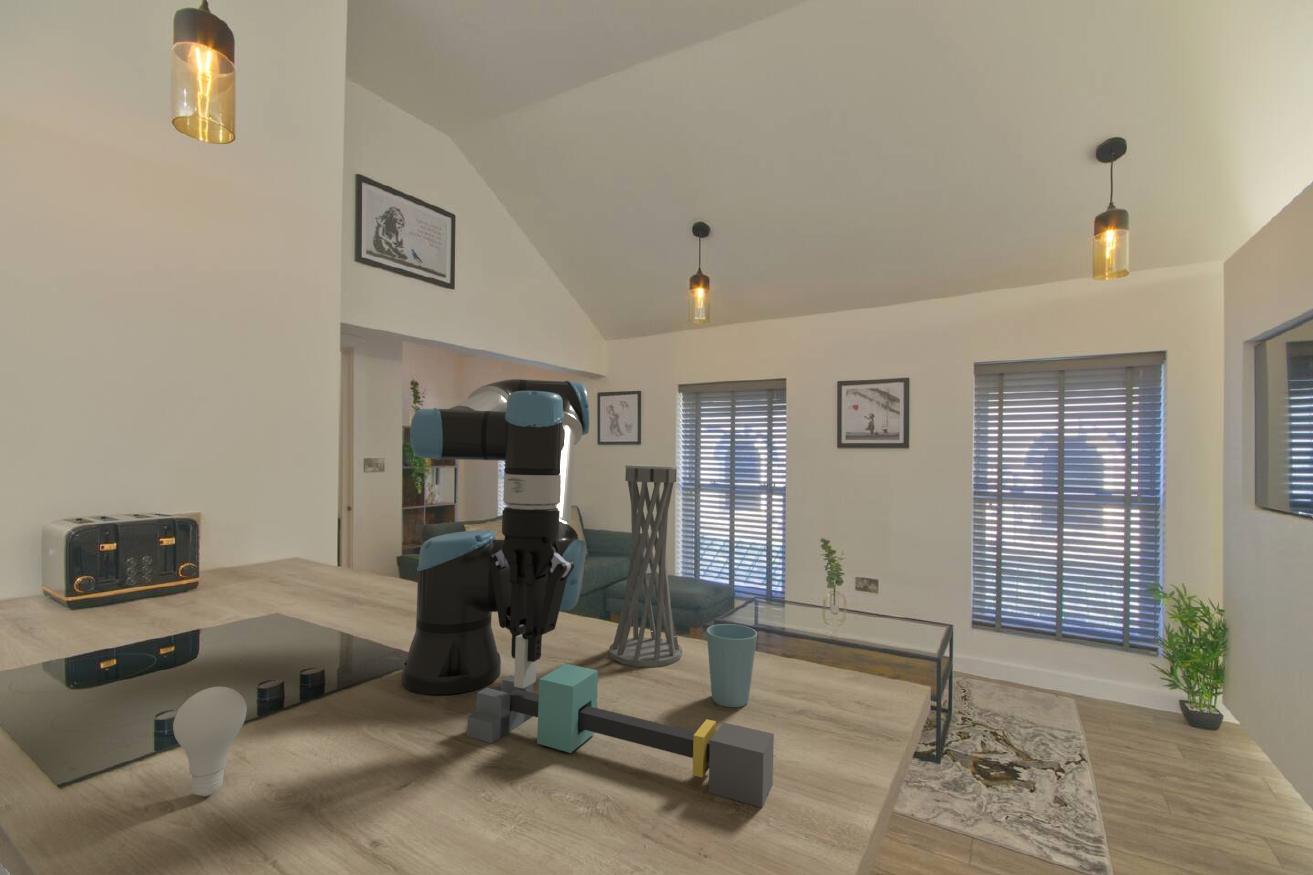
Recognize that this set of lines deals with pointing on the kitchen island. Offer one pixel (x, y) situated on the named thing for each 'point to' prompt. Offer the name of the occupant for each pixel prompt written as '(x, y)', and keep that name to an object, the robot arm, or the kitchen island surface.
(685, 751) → the dark grey long bar
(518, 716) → the grey stepped brick
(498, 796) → the kitchen island surface
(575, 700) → the sleeve
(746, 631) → the cup
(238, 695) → the lightbulb
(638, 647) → the grey lattice tower
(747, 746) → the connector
